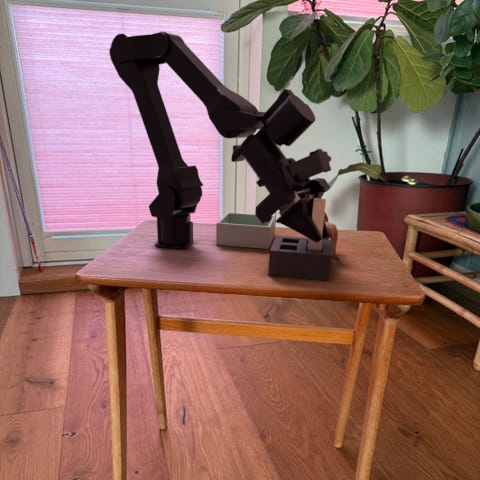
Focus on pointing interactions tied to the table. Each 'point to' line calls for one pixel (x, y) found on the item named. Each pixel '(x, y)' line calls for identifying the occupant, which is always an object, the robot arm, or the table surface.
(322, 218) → the pink rectangular bar
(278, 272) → the caddy
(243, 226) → the tub
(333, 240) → the lion figurine
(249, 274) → the table surface
